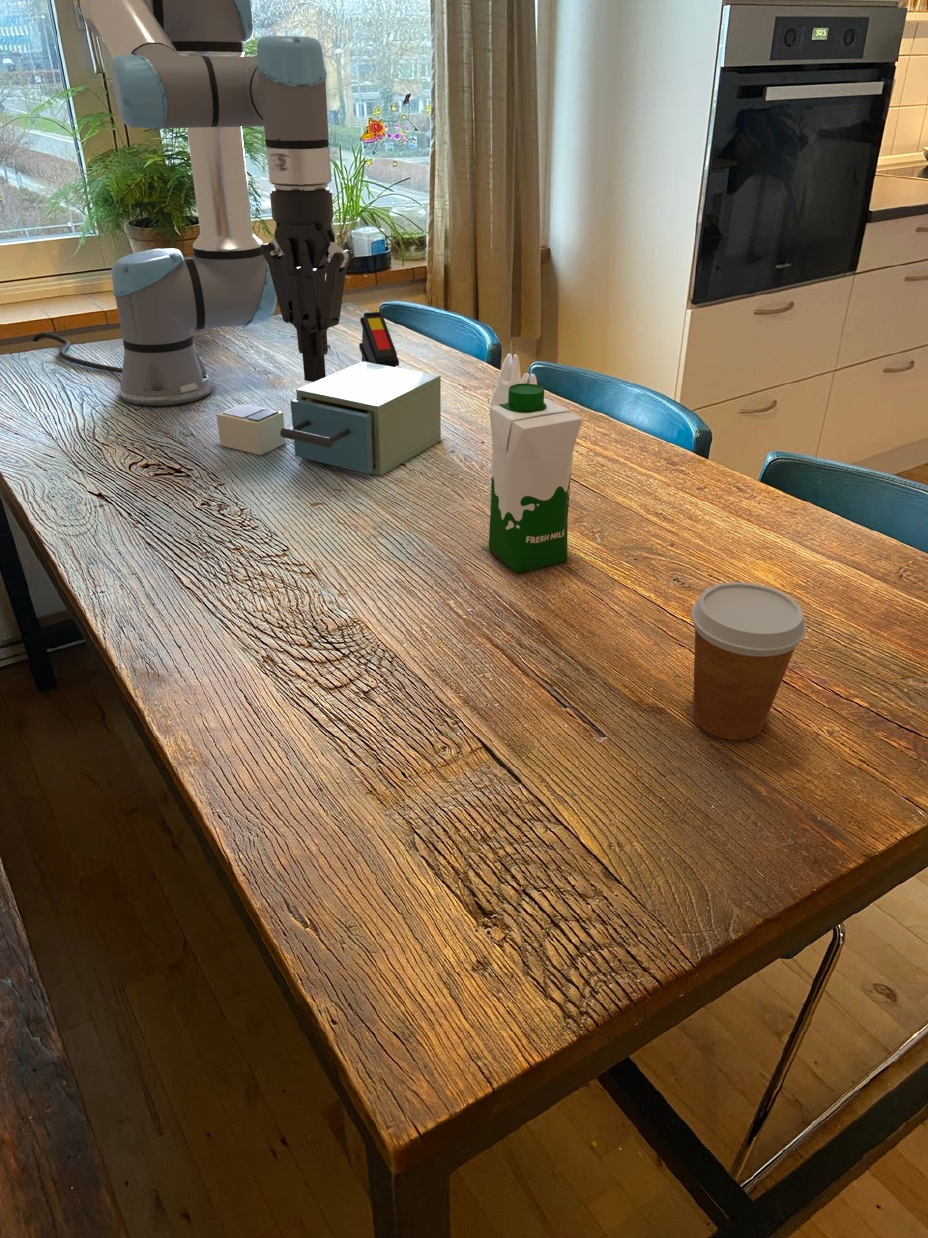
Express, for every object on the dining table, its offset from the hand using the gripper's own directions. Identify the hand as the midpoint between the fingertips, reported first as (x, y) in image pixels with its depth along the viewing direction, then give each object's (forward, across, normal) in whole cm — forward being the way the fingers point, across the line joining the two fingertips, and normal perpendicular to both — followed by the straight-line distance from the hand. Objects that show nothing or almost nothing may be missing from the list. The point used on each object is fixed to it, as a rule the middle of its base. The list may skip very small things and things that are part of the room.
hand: (315, 378), depth 123 cm
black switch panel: (+14, -10, +30) cm, 35 cm away
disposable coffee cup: (+15, +66, -26) cm, 73 cm away
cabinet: (+14, 0, +13) cm, 19 cm away
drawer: (+13, 0, +7) cm, 15 cm away
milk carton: (+15, +36, -7) cm, 39 cm away
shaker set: (+14, +14, +34) cm, 39 cm away
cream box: (+14, -17, +5) cm, 23 cm away
